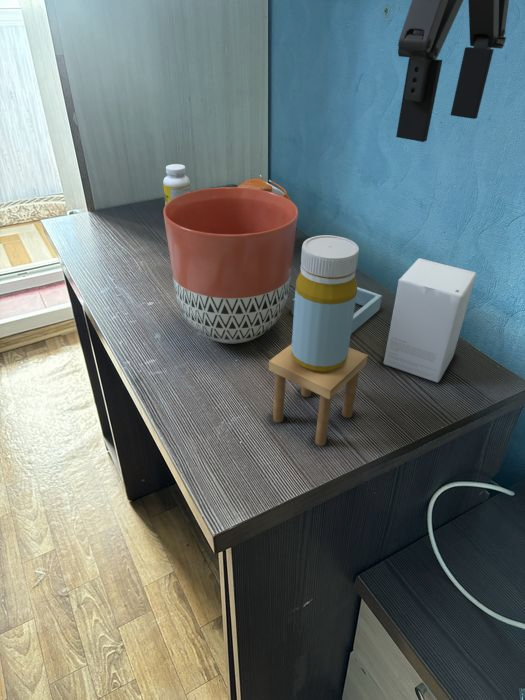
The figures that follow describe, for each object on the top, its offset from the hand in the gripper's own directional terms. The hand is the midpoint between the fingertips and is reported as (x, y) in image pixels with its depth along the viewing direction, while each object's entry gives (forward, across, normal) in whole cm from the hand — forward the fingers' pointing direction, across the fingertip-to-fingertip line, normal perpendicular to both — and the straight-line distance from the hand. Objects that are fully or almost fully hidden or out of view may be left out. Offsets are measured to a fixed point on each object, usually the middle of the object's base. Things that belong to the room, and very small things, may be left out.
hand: (439, 127), depth 52 cm
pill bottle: (+37, -33, -74) cm, 89 cm away
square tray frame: (+37, -17, -18) cm, 44 cm away
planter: (+37, 0, -28) cm, 46 cm away
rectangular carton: (+37, -13, 0) cm, 39 cm away
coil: (+37, -29, -46) cm, 66 cm away
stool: (+37, +9, -6) cm, 38 cm away
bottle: (+27, +9, -6) cm, 29 cm away
